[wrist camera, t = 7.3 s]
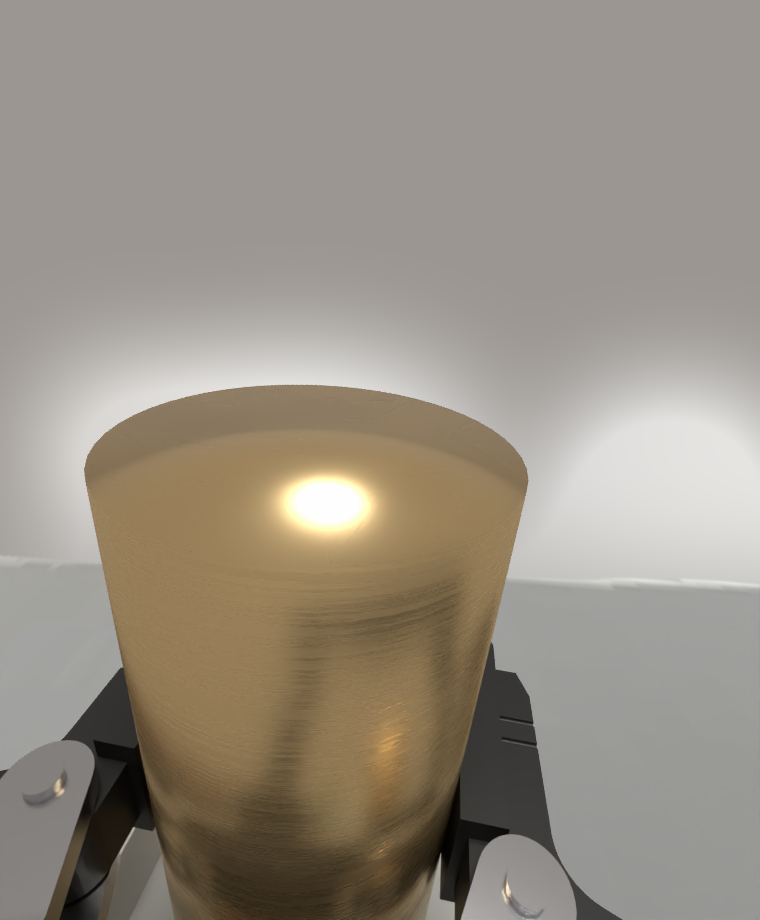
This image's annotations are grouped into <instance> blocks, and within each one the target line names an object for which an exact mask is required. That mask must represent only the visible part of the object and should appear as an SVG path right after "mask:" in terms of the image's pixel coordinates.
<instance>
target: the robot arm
mask: <svg viewBox="0 0 760 920" xmlns="http://www.w3.org/2000/svg"><path fill="white" fill-rule="evenodd" d="M536 745H537V742H536V735H535V729H534V727H533V717H532V711H531V704H530V698H529V695H528V694H527V692H526V690H525V688H524V687H523V685H522V683H521V682H520V680H519V678H518V676H517V675H516V673H512V672H506V671H501V670H495V659H494V649H493V644H492V642H491V643H490V648H489V652H488V656H487V660H486V665H485V669H484V673H483V677H482V682H481V686H480V690H479V694H478V698H477V703H476V707H475V711H474V715H473V720H472V724H471V728H470V732H469V736H468V741H467V745H466V749H465V753H464V758H463V762H462V766H461V770H460V775H459V779H458V783H457V787H456V791H455V796H454V800H453V804H452V808H451V813H450V817H449V821H448V825H447V829H446V834H445V838H444V842H443V846H442V851H441V872H440V899H441V900H445V901H450V902H454V903H455V920H622V919H620V918H619V917H617V916H616V915H614V914H612V913H611V912H609V911H607V910H606V909H604V908H603V907H601V906H600V905H598V904H597V903H595V902H594V901H593V900H592V899H590V898H589V897H588V896H587V895H586V894H585V893H584V892H583V891H582V890H581V889H580V888H579V887H578V886H577V885H576V884H575V882H574V881H573V880H572V878H571V877H570V876H569V874H568V873H567V871H566V870H565V868H564V866H563V865H562V863H561V861H560V859H559V857H558V855H557V852H556V849H555V846H554V843H553V839H552V835H551V829H550V822H549V816H548V810H547V804H546V798H545V791H544V785H543V779H542V773H541V766H540V760H539V754H538V749H537V747H536ZM133 827H135V828H139V829H144V830H148V831H153V830H154V828H155V822H154V817H153V812H152V807H151V802H150V797H149V792H148V787H147V782H146V777H145V772H144V767H143V762H142V757H141V753H140V748H139V743H138V738H137V733H136V728H135V723H134V718H133V713H132V708H131V703H130V698H129V693H128V688H127V684H126V679H125V674H124V669H123V668H120V669H119V671H118V672H117V673H116V674H115V675H114V677H113V678H112V679H111V680H110V682H109V683H108V684H107V685H106V687H105V688H104V689H103V690H102V692H101V693H100V694H99V695H98V697H97V698H96V699H95V700H94V702H93V703H92V704H91V705H90V707H89V708H88V709H87V710H86V712H85V713H84V714H83V715H82V716H81V718H80V719H79V720H78V721H77V723H76V724H75V725H74V726H73V728H72V729H71V730H70V731H69V732H68V734H67V735H66V736H65V737H64V738H63V739H62V740H61V741H57V742H53V743H50V744H47V745H44V746H42V747H39V748H37V749H35V750H34V751H32V752H30V753H28V754H27V755H25V756H24V757H23V758H21V759H20V760H19V761H17V762H16V763H15V764H14V765H13V766H12V767H11V768H10V769H8V770H3V771H0V920H107V915H108V911H109V907H110V903H111V899H112V895H113V891H114V886H115V882H116V878H117V874H118V870H119V865H120V850H121V848H122V846H123V845H124V843H125V841H126V839H127V837H128V836H129V834H130V832H131V830H132V828H133Z"/></svg>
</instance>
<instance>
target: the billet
mask: <svg viewBox="0 0 760 920" xmlns="http://www.w3.org/2000/svg"><path fill="white" fill-rule="evenodd" d="M84 470H85V471H84V472H85V480H86V486H87V491H88V496H89V501H90V505H91V511H92V516H93V520H94V526H95V531H96V536H97V540H98V545H99V550H100V555H101V560H102V565H103V570H104V575H105V580H106V585H107V590H108V595H109V600H110V605H111V610H112V615H113V619H114V624H115V629H116V634H117V639H118V644H119V649H120V654H121V659H122V664H123V669H124V674H125V679H126V684H127V688H128V693H129V698H130V703H131V708H132V713H133V718H134V723H135V728H136V733H137V738H138V743H139V748H140V753H141V757H142V762H143V767H144V772H145V777H146V782H147V787H148V792H149V797H150V802H151V807H152V812H153V817H154V822H155V826H156V831H157V836H158V841H159V846H160V851H161V856H162V861H163V866H164V871H165V876H166V881H167V886H168V891H169V896H170V900H171V905H172V910H173V915H174V920H425V918H426V914H427V910H428V906H429V901H430V897H431V893H432V889H433V884H434V880H435V876H436V872H437V867H438V863H439V859H440V855H441V851H442V846H443V842H444V838H445V834H446V829H447V825H448V821H449V817H450V813H451V808H452V804H453V800H454V796H455V791H456V787H457V783H458V779H459V775H460V770H461V766H462V762H463V758H464V753H465V749H466V745H467V741H468V736H469V732H470V728H471V724H472V720H473V715H474V711H475V707H476V703H477V698H478V694H479V690H480V686H481V682H482V677H483V673H484V669H485V665H486V660H487V656H488V652H489V648H490V643H491V639H492V635H493V631H494V627H495V622H496V618H497V614H498V610H499V605H500V601H501V597H502V593H503V589H504V584H505V580H506V576H507V572H508V567H509V563H510V559H511V555H512V550H513V546H514V542H515V538H516V534H517V529H518V525H519V521H520V517H521V512H522V508H523V504H524V500H525V495H526V491H527V485H528V476H527V469H526V466H525V464H524V462H523V460H522V458H521V457H520V455H519V454H518V452H517V451H516V450H515V448H514V447H513V446H512V445H511V444H510V443H508V442H507V441H506V440H505V439H504V438H503V437H501V436H500V435H499V434H497V433H496V432H495V431H493V430H492V429H490V428H488V427H487V426H485V425H483V424H481V423H480V422H478V421H476V420H474V419H471V418H469V417H467V416H465V415H463V414H460V413H458V412H455V411H453V410H450V409H447V408H444V407H442V406H438V405H435V404H432V403H429V402H425V401H422V400H418V399H414V398H409V397H405V396H401V395H396V394H391V393H385V392H380V391H372V390H366V389H358V388H348V387H337V386H322V385H320V386H319V385H274V386H273V385H271V386H255V387H244V388H235V389H226V390H220V391H214V392H208V393H203V394H198V395H193V396H189V397H185V398H181V399H178V400H174V401H170V402H167V403H164V404H161V405H158V406H155V407H152V408H150V409H147V410H145V411H143V412H140V413H138V414H135V415H133V416H132V417H130V418H128V419H126V420H124V421H123V422H121V423H119V424H117V425H116V426H115V427H113V428H112V429H110V430H109V431H108V432H106V433H105V434H104V435H103V436H102V437H101V438H100V439H99V440H98V441H97V442H96V443H95V445H94V446H93V448H92V450H91V451H90V453H89V454H88V456H87V460H86V464H85V468H84Z"/></svg>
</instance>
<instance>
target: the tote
mask: <svg viewBox="0 0 760 920" xmlns="http://www.w3.org/2000/svg"><path fill="white" fill-rule="evenodd" d="M440 872H441V855H440V859H439V863H438V867H437V872H436V876H435V880H434V884H433V889H432V893H431V897H430V901H429V906H428V910H427V914H426V918H425V920H455V903H454V902H450V901H445V900H441V899H440ZM107 920H174V915H173V910H172V905H171V900H170V896H169V891H168V886H167V881H166V876H165V871H164V866H163V861H162V856H161V851H160V846H159V841H158V836H157V831H156V826H155V828H154V830H153V831H148V830H144V829H139V828H135V827H133V828H132V830H131V832H130V834H129V836H128V837H127V839H126V841H125V843H124V845H123V846H122V848H121V850H120V865H119V870H118V874H117V878H116V882H115V886H114V891H113V895H112V899H111V903H110V907H109V911H108V915H107Z"/></svg>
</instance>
